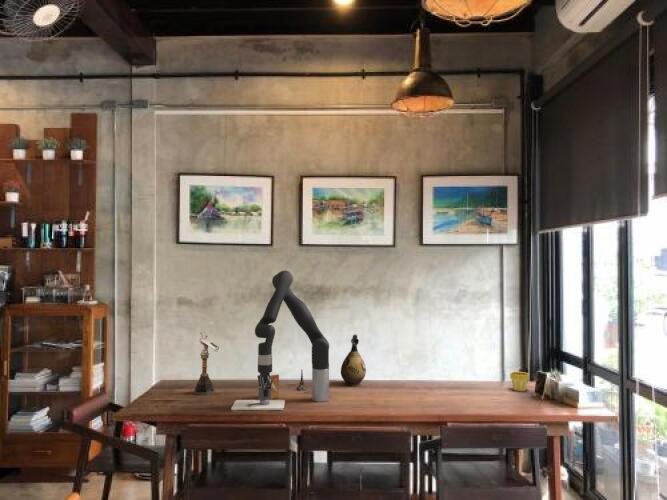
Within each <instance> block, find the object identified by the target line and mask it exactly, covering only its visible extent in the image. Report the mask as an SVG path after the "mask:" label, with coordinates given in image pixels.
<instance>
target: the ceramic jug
mask: <svg viewBox="0 0 667 500" xmlns="http://www.w3.org/2000/svg"><path fill="white" fill-rule="evenodd" d="M359 341H360V340H359V338H358V334H353V335H352V338H351V340H350V342H351V349H350V351H349V352H348V354H347V355H346V356H345V358H344V359H343V361H342V364H341V368H340V376H341V378H342V380H343V382H344V385H345V386H349V387H357V386H360V385H361V383H362V381H363V380H364V379H365V377H366V374H367V370H366V369H367V368H366V364H365V361H364V359H363V357H362V356H361V354H360V352H359V350H358V345H359Z"/></svg>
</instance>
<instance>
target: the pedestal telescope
mask: <svg viewBox="0 0 667 500" xmlns="http://www.w3.org/2000/svg"><path fill="white" fill-rule="evenodd" d="M199 334H200V338H199V343H200V344H201V345H202V346H203V349H202V350H201V353H199V355H200V359H201V361H202V362H201V363H202V365H201V367H202V368H201V370H202V371H201V373H200V376H199V378H198V380H197V382H196V386H195V388H194V391H193V395H196V396H209V395H213V394H215V393H216V388H214V385H213V382H212V380H211V379H210V377H209V373H208V372H207V371H208V365H207V364H208V359H209V356H210V353H209V350H208V349H209V347H210V348H211V349H212V350H214V351H215V352H218V350H219V349H220V344H218V345H217V344H216V343H214V342H213V341H210V340H209V338H208V335H207V334H206V335H205V333H204V332H199Z"/></svg>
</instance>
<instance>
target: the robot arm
mask: <svg viewBox="0 0 667 500" xmlns="http://www.w3.org/2000/svg"><path fill="white" fill-rule="evenodd" d="M293 278H294V277H293V274H292V273H291V272H290V271H289V270H281V271H279V272H278V273H276V274H275V275H273V277H272V278H271V279H272V280H271V284H272V286H273V287H274V289H275V290H274V292H273V294H272V296H271V298H269V301H268V303H267V305H266V307H265V310H264V313H263V315H262V317H261V318H260V320H259V321H258V323H257V324H256V326H255V329H254V335H255V337H257V338H259V339H265V340H264V341H263V342H259V344H258V345H257V347H258V348H257V373H259V375H257V380H258V387H259V388H264V397H268V390H269V389H271V385H272V382H273V380H272V379H270V373H273V351H272V350H273V343H274V339H275V335H276V329H275V327H274V325H273V324H274V323H275V322H276V321H277V318H278V315H279V312H280V309H281V307H282V304H283V302H284V304H286V307H287V308H288V310H289V312H290V313H291V315H292V318H293V319H294V320H295V322H296V323H297V325H298V327H300V328H301V329H302V331H303V332H304V333H305V334H306V336H307V338H308V339H309V341H310V343H311V388H312V389H311V400H312V401H314V402H320V403H321V402H329V401H330V360H329V359H330V358H329V357H330V355H329V354H330V351H329V350H330V343H329V341H328V340H327V338H326V337H325V335H323V333H322V331H321V330H320V328H319V327H318V325H317V323H316V321H315V319H314V317H313V315H312V313H311V312H310V309H309V308H308V306H307V304H306V303H304V301H302V299H300V298H299V297H297V296H296V295H295V293H294V292H293V291H292V289H291V288H290V287H291V285H292V283H293V281H294V279H293Z"/></svg>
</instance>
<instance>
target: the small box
mask: <svg viewBox="0 0 667 500" xmlns="http://www.w3.org/2000/svg"><path fill="white" fill-rule="evenodd" d="M270 379H272V380H273V382H272V385H271V399H270V400H273V399H278V398H279V397H280V395H279V393H280V374H279V373H276V372H270ZM272 398H273V399H272Z"/></svg>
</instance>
